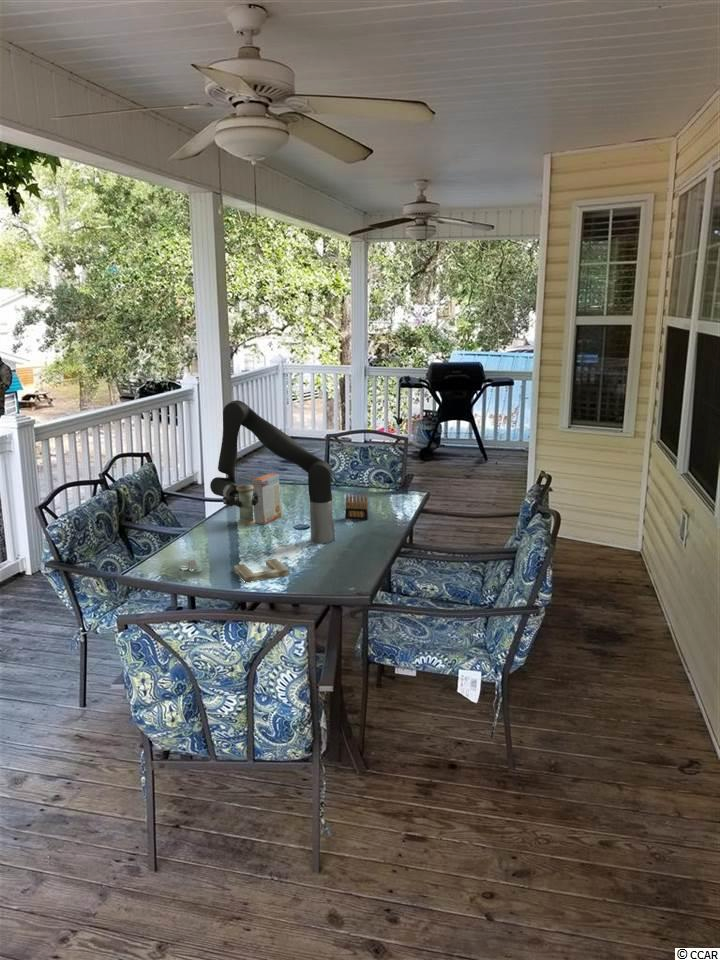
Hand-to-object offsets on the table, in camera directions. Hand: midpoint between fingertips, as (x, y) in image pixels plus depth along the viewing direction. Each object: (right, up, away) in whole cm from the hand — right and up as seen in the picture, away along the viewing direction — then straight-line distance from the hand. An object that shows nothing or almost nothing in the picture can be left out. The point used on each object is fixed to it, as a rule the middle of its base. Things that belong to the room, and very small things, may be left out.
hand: (247, 503), depth 263 cm
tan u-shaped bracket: (+6, -25, -6) cm, 26 cm away
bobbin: (-1, -7, +4) cm, 8 cm away
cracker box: (-1, -10, +62) cm, 63 cm away
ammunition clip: (+40, -9, +62) cm, 75 cm away
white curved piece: (-21, -25, +1) cm, 32 cm away
